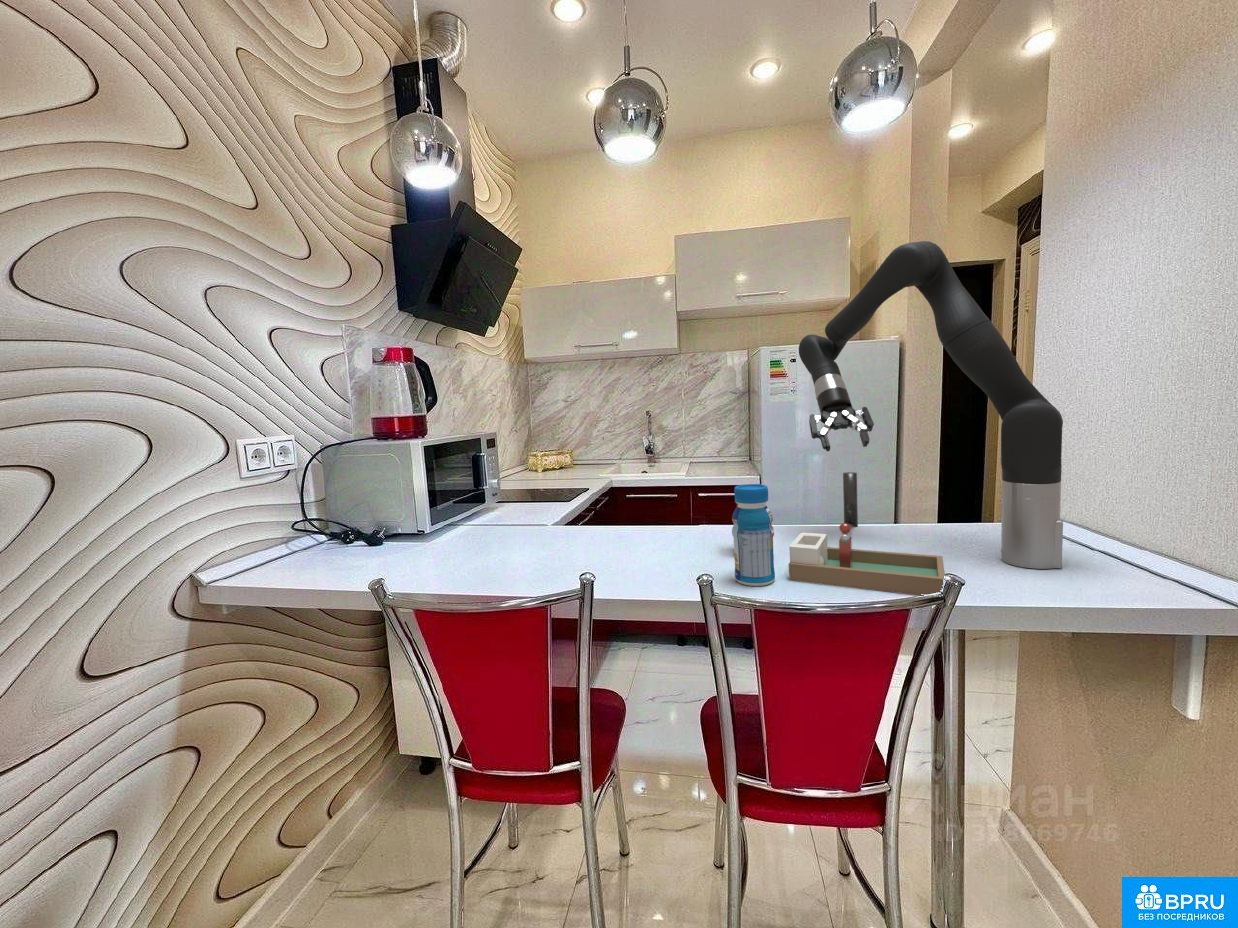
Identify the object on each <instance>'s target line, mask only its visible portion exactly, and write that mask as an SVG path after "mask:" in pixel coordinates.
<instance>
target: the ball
mask: <svg viewBox="0 0 1238 928" xmlns="http://www.w3.org/2000/svg"><path fill="white" fill-rule="evenodd" d="M820 565H824V559H823V558H822V556H821V555H820Z"/></svg>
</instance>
